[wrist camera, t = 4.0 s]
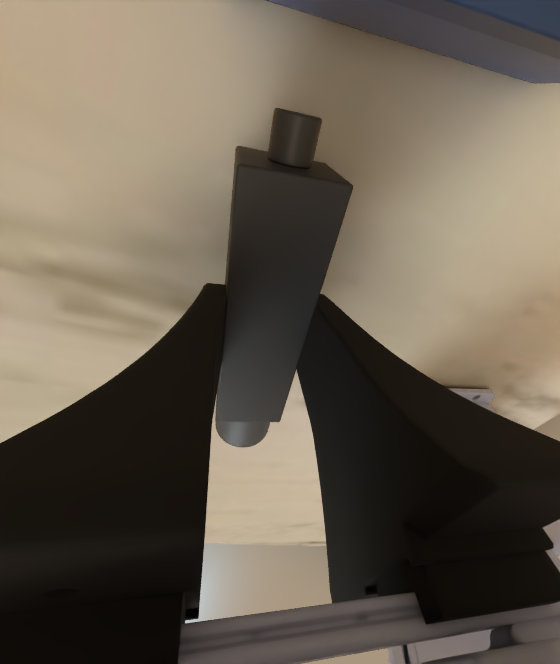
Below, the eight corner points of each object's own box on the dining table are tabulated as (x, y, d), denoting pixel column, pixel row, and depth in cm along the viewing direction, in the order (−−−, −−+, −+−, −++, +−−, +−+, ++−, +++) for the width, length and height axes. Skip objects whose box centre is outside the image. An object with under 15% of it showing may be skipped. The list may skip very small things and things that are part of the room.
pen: (239, 98, 7) (242, 101, 5) (337, 121, 8) (372, 130, 6) (215, 400, 15) (212, 449, 13) (267, 401, 15) (272, 448, 13)
